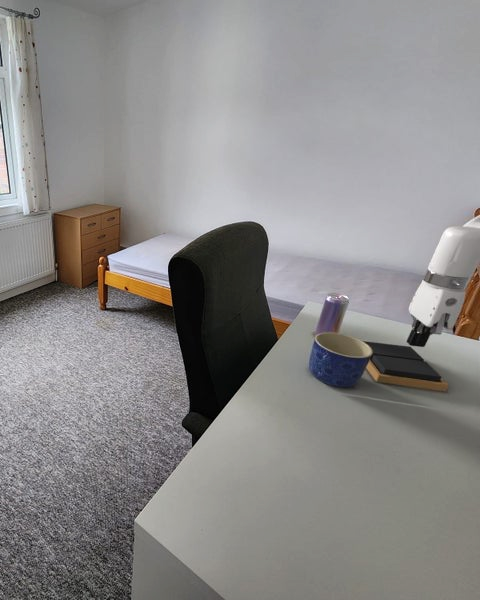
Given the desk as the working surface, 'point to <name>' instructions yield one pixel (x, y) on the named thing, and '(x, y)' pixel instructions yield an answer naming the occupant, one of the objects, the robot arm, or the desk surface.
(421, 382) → the frame
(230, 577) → the desk surface
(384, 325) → the desk surface
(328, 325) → the beverage can
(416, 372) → the loose pad
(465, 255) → the robot arm
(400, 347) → the pad
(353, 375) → the planter
